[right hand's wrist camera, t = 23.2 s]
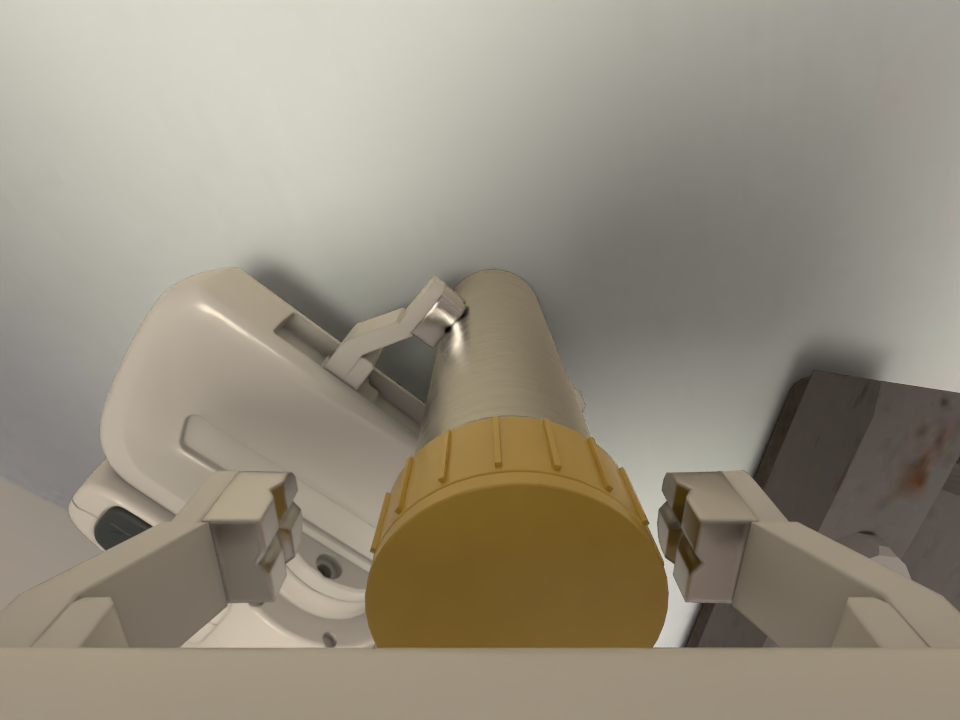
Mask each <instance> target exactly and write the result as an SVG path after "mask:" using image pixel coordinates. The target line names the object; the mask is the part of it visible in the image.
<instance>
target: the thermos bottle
mask: <svg viewBox="0 0 960 720" xmlns="http://www.w3.org/2000/svg"><path fill="white" fill-rule="evenodd" d="M454 291H455V292H456V293H457V294H458V295H460V296H461V297H462V298H463V299H464V300H466V304H465V306H466V308H465V310H464V312H463V314H462V315H461V317H460V318H459V319H458V321H457V322H456V323H455V324H453V325H452V326H450V327H446V332H445V335H444V336H443V338H442V339H441V340H440V342H439V343H438V348H437V353H436V358H435V362H434V367H433V372H432V377H431V381H430V386H429V391H428V395H427V400H426V405H425V410H424V414H423V419H422V424H421V429H420V433H419V438H418V443H417V447H416V452H415V454H416V453H417V452H418V451H419V450H420V449H421V448H423V447H424V446H425V445H426V444H428V443H429V442H430V441H432V440H433V439H435V438H437V437H438V436H440V435H442V434H443V433H444V431H445V430H447V429H449V430H452V429H454V428H456V427H458V426H461V425H464V424H467V423H470V422H474V421H477V420H482V419H488V418H492V416H498V417H508V416H516V417H531V418H536V419H542V420H544V418H546V419H550V422H554V423H557V424H561V425H563V426H566V427H568V428H570V429H572V430H575V431H577V432H579V433H580V434H582V435H584V436H585V437H587V438H589V437H590V433H589V431H588V428H587V425H586V423H585V420H584V418H583V415H582V413H581V410H580V407H579V405H578V402H577V400H576V397H575V395H574V392H573V389H572V387H571V384H570V382H569V379H568V377H567V374H566V371H565V369H564V366H563V364H562V361H561V359H560V356H559V353H558V351H557V348H556V346H555V343H554V341H553V338H552V335H551V333H550V330H549V328H548V325H547V323H546V320H545V317H544V315H543V312H542V310H541V307H540V305H539V302H538V299H537V297H536V295H535V293H534V291H533V290H532V288H531V287H530V286H529V285H528V284H527V283H526V282H525V281H524V280H523V279H521V278H520V277H519V276H517V275H515V274H513V273H510V272H507V271H503V270H496V269H492V270H483V271H479V272H476V273H474V274H471V275H469V276H468V277H466V278H465V279H463V280H462V281H461V282H460V283H459V284H458V285H457V286H456V287H455V289H454Z"/></svg>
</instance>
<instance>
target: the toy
mask: <svg viewBox="0 0 960 720" xmlns="http://www.w3.org/2000/svg"><path fill="white" fill-rule="evenodd" d="M959 457H960V393H956V392H950V391H943V390H937V389H930V388H924V387H917V386H911V385H904V384H898V383H891V382H885V381H878V380H872V379H866V378H859V377H853V376H847V375H840V374H834V373H828V372H822V371H815V370H814V371H813V374H812V376H811V377H808V378H804V379H801V380H800V381H798V382H797V383H795V384H794V386H793V387H792V389H791V391H790V392H789V395H788V397H787V400H786V402H785V405H784V407H783V409H782V412H781V414H780V417H779V419H778V422H777V424H776V427H775V429H774V432H773V434H772V437H771V439H770V442H769V444H768V446H767V449H766V451H765V454H764V456H763V459H762V461H761V464H760V466H759V469H758V471H757V474H756V476H755V478H754V480H755V482H756V483H757V484H758V485H759V486H760V488H761V489H762V490H763V491H764V492H765V494H766V495H767V496H768V497H769V498H770V500H771V501H772V502H773V503H774V504H775V506H776V507H777V508H778V509H779V510H780V512H781V513H782V514H783V515H784V516H785V518H786V519H787V520H788V521H789V522H799V523H801V524H802V525H804V526H806V527H808V528H810V529H812V530H814V531H816V532H818V533H820V534H822V535H824V536H826V537H828V538H830V539H832V540H834V541H836V542H838V543H840V544H842V545H844V546H846V547H848V548H850V549H852V550H854V551H856V552H858V553H860V554H862V555H864V556H865V557H867V558H869V559H871V560H873V561H875V562H877V563H879V564H881V565H883V566H885V567H887V568H889V569H891V570H893V571H895V572H897V573H899V574H901V575H903V576H905V577H907V578H909V579H911V580H913V581H915V582H917V583H919V584H921V585H923V586H925V587H926V588H928V589H930V590H932V591H934V592H936V593H938V594H940V595H942V596H943V597H944V598H945V599H946V600H948V601H949V602H950V603H951V604H952V605H953V606H954V607H955V608H956V609H957V610H958V611H959V612H960V464H958V463H956V462H957V460H958V458H959ZM732 604H733V603H704V604H703V607H702V609H701V612H700V614H699V617H698V619H697V621H696V624H695V626H694V629H693V631H692V634H691V636H690V639H689V641H688V644H687V646H686V648H781V647H780V646H779V645H777V644H776V643H775V642H774V641H773V640H772V639H770V638H769V637H768V636H767V635H766V634H765V633H763V632H762V631H761V630H760V629H759V628H758V627H756V626H755V625H754V624H753V623H752V622H751V621H749V620H748V619H747V618H746V617H745V616H744V615H742V614H741V613H740V612H739V611H738V610H737V609H735V608H734V607H733V606H732Z"/></svg>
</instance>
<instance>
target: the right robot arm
mask: <svg viewBox="0 0 960 720" xmlns="http://www.w3.org/2000/svg"><path fill="white" fill-rule="evenodd" d="M297 492H298V486H297V481H296V476H295V475H294V474H293V473H292V472H273V471H216V472H213V473H211V474H210V475H209V477H208V478H207V479H206V480H205V481H204V483H203V484H202V485H201V486H200V487H199V489H198V490H197V491H196V492H195V494H194V495H193V496H192V497H191V498H190V500H189V501H188V502H187V503H186V504H185V506H184V507H183V508H182V509H181V510H180V512H179V513H178V514H177V515H176V516H175V518H174V519H173V520H172V521H171V522H161V523H159V524H157V525H156V526H154V527H152V528H150V529H148V530H146V531H144V532H142V533H140V534H138V535H136V536H134V537H132V538H130V539H128V540H126V541H124V542H122V543H120V544H118V545H116V546H114V547H112V548H110V549H108V550H106V551H104V552H102V553H100V554H98V555H96V556H94V557H92V558H90V559H88V560H86V561H84V562H83V563H81V564H79V565H77V566H75V567H73V568H71V569H69V570H67V571H65V572H63V573H61V574H59V575H57V576H55V577H53V578H51V579H49V580H47V581H45V582H43V583H41V584H39V585H37V586H35V587H33V588H31V589H29V590H27V591H25V592H23V593H21V594H19V595H18V596H17V597H16V598H15V599H14V600H13V601H12V602H11V603H10V604H9V605H8V606H7V607H6V608H5V609H4V610H2V611H1V612H0V720H960V612H959V611H958V610H957V609H956V608H955V607H954V606H953V605H952V604H951V603H950V602H949V601H948V600H946V599H945V598H944V597H943V596H942V595H940V594H938V593H936V592H934V591H932V590H930V589H928V588H926V587H925V586H923V585H921V584H919V583H917V582H915V581H913V580H911V579H909V578H907V577H905V576H903V575H901V574H899V573H897V572H895V571H893V570H891V569H889V568H887V567H885V566H883V565H881V564H879V563H877V562H875V561H873V560H871V559H869V558H867V557H865V556H864V555H862V554H860V553H858V552H856V551H854V550H852V549H850V548H848V547H846V546H844V545H842V544H840V543H838V542H836V541H834V540H832V539H830V538H828V537H826V536H824V535H822V534H820V533H818V532H816V531H814V530H812V529H810V528H808V527H806V526H804V525H802V524H801V523H799V522H789V521H788V520H787V519H786V518H785V516H784V515H783V514H782V513H781V512H780V510H779V509H778V508H777V507H776V506H775V504H774V503H773V502H772V501H771V500H770V498H769V497H768V496H767V495H766V494H765V492H764V491H763V490H762V489H761V488H760V486H759V485H758V484H757V483H756V482H755V480H754V479H753V478H752V477H751V476H750V474H749V473H747V472H745V471H743V470H740V471H717V472H674V473H666V475H665V477H664V480H663V486H662V492H663V494H664V496H665V498H666V500H667V501H666V502H665V503H664V504H663V505H662V506H661V507H660V509H659V513H658V521H657V527H658V538H659V542H660V546H661V549H662V551H663V554H664V556H665V558H667V559H668V560H669V561H671V562H672V563H674V564H675V565H674V571H673V576H674V578H675V580H676V583H677V585H678V587H679V589H680V591H681V593H682V596H683V598H684V600H685V602H697V603H733V604H732V606H733V607H734V608H735V609H737V610H738V611H739V612H740V613H741V614H742V615H744V616H745V617H746V618H747V619H748V620H749V621H751V622H752V623H753V624H754V625H755V626H756V627H758V628H759V629H760V630H761V631H762V632H763V633H765V634H766V635H767V636H768V637H769V638H770V639H772V640H773V641H774V642H775V643H776V644H777V645H779V646H780V647H781V648H179V647H180V646H182V645H183V644H184V643H185V642H186V641H187V640H189V639H190V638H191V637H192V636H193V635H194V634H196V633H197V632H198V631H199V630H200V629H201V628H203V627H204V626H205V625H206V624H207V623H208V622H210V621H211V620H212V619H213V618H214V617H215V616H217V615H218V614H219V613H220V612H221V611H222V610H224V609H225V608H226V607H227V606H228V604H227V603H262V602H275V600H276V598H277V596H278V593H279V591H280V589H281V587H282V585H283V583H284V580H285V578H286V576H287V571H286V565H285V564H286V563H288V562H289V561H291V560H292V559H293V558H295V556H296V554H297V551H298V549H299V547H300V542H301V537H302V528H303V519H302V512H301V509H300V507H299V506H298V505H297V504H296V503H295V502H294V501H293V500H294V498H295V496H296V494H297Z"/></svg>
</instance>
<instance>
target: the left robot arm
mask: <svg viewBox="0 0 960 720" xmlns="http://www.w3.org/2000/svg"><path fill="white" fill-rule="evenodd" d="M465 304H466V300H464V299H463V298H462V297H461V296H460V295H458V294H457V293H456V292H455V291H454V290H452V289H451V288H450V287H449V286H448V285H447V284H445V282H443V281H442V280H441V279H439V278H438V277H436V276H434V277H433V278H431V279H430V281H429V282H428V283H427V284H426V285H425V287H424V288H423V289H422V290H421V292H420V293H419V294H418V295H417V296H416V298H415V299H414V300H413V301H412V303H411V304H410V305H409V306H408V307H407V309H405V308H400V309H397V310H394V311H391V312H389V313H386V314H383V315H380V316H377V317H374V318H371V319H368V320H365V321H363V322H360V323H357V324H356V325H355V326H354V327H353V328H352V330H351V331H350V332H349V334H348V335H347V336H346V337H345V339H344V340H343V341H342V342H340V341H338V340H337V339H336V338H334V337H333V336H332V335H330V334H329V333H327V332H326V331H325V330H323V329H322V328H321V327H319V326H318V325H317V324H315V323H314V322H312V321H311V320H310V319H308V318H307V317H306V316H304V315H303V314H301V313H300V312H299V311H297V310H296V309H295V308H293V307H292V306H291V305H289V304H288V303H286V302H285V301H284V300H282V299H281V298H280V297H278V296H277V295H276V294H274V293H273V292H271V291H270V290H269V289H267V288H266V287H265V286H263V285H262V284H260V283H259V282H258V281H256V280H255V279H254V278H252V277H251V276H250V275H248V274H247V273H245V272H244V271H242V270H240V269H238V268H234V267H229V268H221V269H215V270H210V271H206V272H201V273H198V274H196V275H193V276H190V277H188V278H186V279H184V280H182V281H180V282H179V283H177V284H175V285H174V286H172V287H170V288H169V289H168V290H167V291H166V292H165V293H163V294H162V295H161V297H160V298H159V299H158V300H157V301H156V302H155V304H154V306H153V307H152V309H151V310H150V312H149V313H148V315H147V316H146V318H145V320H144V321H143V323H142V325H141V326H140V328H139V330H138V332H137V334H136V335H135V337H134V339H133V341H132V343H131V345H130V347H129V349H128V351H127V353H126V355H125V357H124V359H123V361H122V363H121V365H120V368H119V370H118V372H117V374H116V376H115V379H114V381H113V384H112V386H111V389H110V391H109V394H108V396H107V399H106V402H105V404H104V407H103V411H102V414H101V420H100V430H99V432H100V442H101V446H102V450H103V452H104V455H105V457H106V459H105V460H104V461H103V462H102V463H101V464H100V465H99V466H98V467H97V468H96V469H95V470H94V472H93V473H92V474H91V475H90V476H89V477H88V478H87V480H86V481H85V482H84V483H83V484H82V485H81V486H80V488H79V489H78V490H77V491H76V493H75V494H74V495H73V497H72V499H71V500H70V503H69V506H68V513H69V517H70V519H71V521H72V522H73V523H74V525H75V526H76V527H77V528H78V529H79V530H80V531H81V532H82V533H83V534H84V535H85V536H86V537H87V538H88V539H89V540H90V541H91V542H93V543H94V544H95V545H96V546H97V547H98V548H99V549H100V550H101V551H102V552H104V551H106V550H108V549H110V548H112V547H114V546H116V545H118V544H120V543H122V542H124V541H126V540H128V539H130V538H132V537H134V536H136V535H138V534H140V533H142V532H144V531H146V530H148V529H150V528H152V527H154V526H156V525H157V524H159V523H161V522H171V521H172V520H173V519H174V518H175V516H176V515H177V514H178V513H179V512H180V510H181V509H182V508H183V507H184V506H185V504H186V503H187V502H188V501H189V500H190V498H191V497H192V496H193V495H194V494H195V492H196V491H197V490H198V489H199V487H200V486H201V485H202V484H203V483H204V481H205V480H206V479H207V478H208V477H209V475H210V474H211V473H213V472H216V471H273V472H292V473H293V474H294V475H295V476H296V481H297V486H298V492H297V494H296V496H295V498H294V500H293V501H294V502H295V503H296V504H297V505H298V506H299V507H300V509H301V512H302V519H303V528H302V537H301V542H300V547H299V549H298V551H297V554H296V556H295V558H293V559H292V560H291V561H289V562H288V563H286V564H285V565H286V571H287V576H286V578H285V580H284V583H283V585H282V587H281V589H280V591H279V593H278V596H277V598H276V600H275V602H262V603H227V604H228V606H227V607H226V608H225V609H224V610H222V611H221V612H220V613H219V614H218V615H217V616H215V617H214V618H213V619H212V620H211V621H210V622H208V623H207V624H206V625H205V626H204V627H203V628H201V629H200V630H199V631H198V632H197V633H196V634H194V635H193V636H192V637H191V638H190V639H189V640H187V641H186V642H185V643H184V644H183V645H182V646H180V647H179V648H372V647H373V646H374V645H375V642H374V640H373V637H372V635H371V632H370V630H369V627H368V622H367V617H366V612H365V591H366V584H367V579H368V575H369V571H370V568H371V563H372V560H373V556H374V553H371V552H370V549H371V545H372V542H373V538H374V534H375V531H376V527H377V523H378V520H379V516H380V512H381V509H382V505H383V501H384V498H385V494H386V492H388V493H391V489H392V487H393V485H394V483H395V481H396V479H397V477H398V475H399V473H400V472H401V471H402V469H403V468H404V466H405V463H406V459H407V458H408V457H409V456H411V457H413V456H414V455H415V452H416V447H417V443H418V438H419V433H420V429H421V424H422V419H423V414H424V410H425V405H426V404H425V403H423V402H422V401H421V400H419V399H418V398H416V397H415V396H414V395H412V394H411V393H410V392H408V391H407V390H406V389H404V388H403V387H401V386H400V385H399V384H397V383H396V382H395V381H393V380H392V379H390V378H389V377H388V376H386V375H385V374H384V373H382V372H381V371H379V370H378V369H377V368H375V365H376V363H377V361H378V359H379V356H380V354H381V352H382V350H383V347H386V346H389V345H391V344H394V343H397V342H399V341H402V340H405V339H407V338H410V337H412V336H414V335H415V336H416V337H418V338H419V339H420V340H422V341H423V342H424V343H426V344H427V345H428V346H430V347H431V348H434V347H435V346H436V345H437V344H438V343H439V342H440V340H441V339H442V338H443V336H444V335H445V332H446V327H450V326H452V325H453V324H455V323H456V322H457V321H458V319H459V318H460V317H461V315H462V314H463V312H464V310H465V308H466V306H465ZM571 387H572V389H573V392H574V395H575V397H576V400H577V402H578V405H579V407H580V410H581V413H582V412H583V410H584V408H585V402H584V400H583V397H582V395H581V393H580V392H579V391H578V390H577V389H575V388H574V387H573V386H572V385H571Z"/></svg>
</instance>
